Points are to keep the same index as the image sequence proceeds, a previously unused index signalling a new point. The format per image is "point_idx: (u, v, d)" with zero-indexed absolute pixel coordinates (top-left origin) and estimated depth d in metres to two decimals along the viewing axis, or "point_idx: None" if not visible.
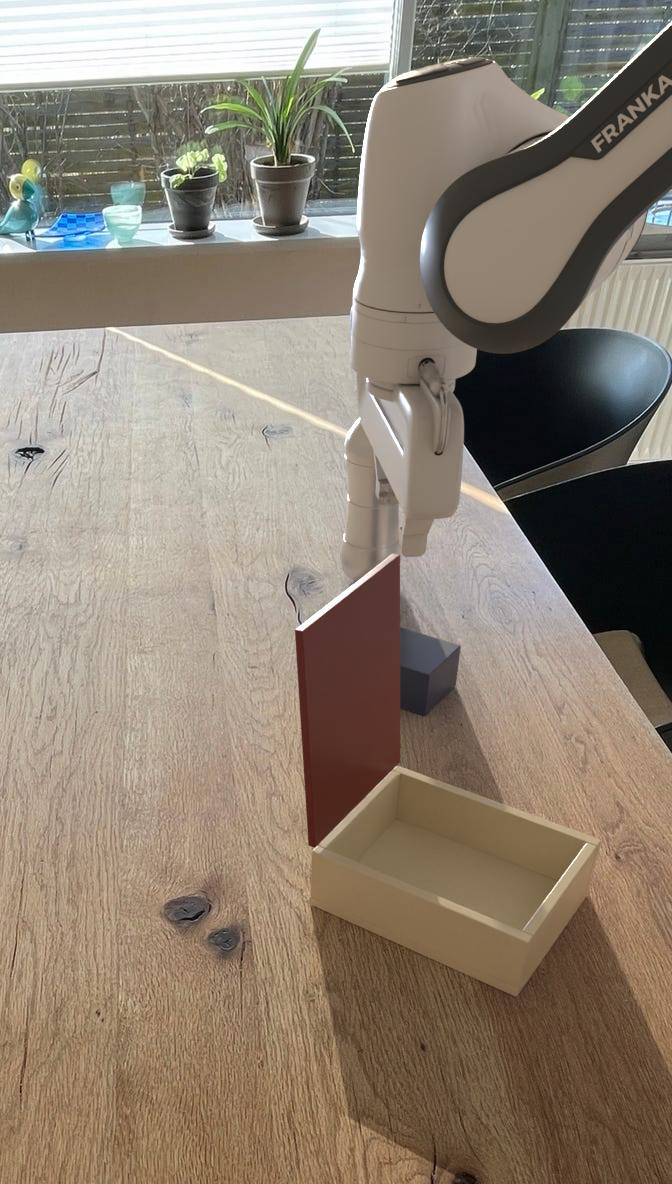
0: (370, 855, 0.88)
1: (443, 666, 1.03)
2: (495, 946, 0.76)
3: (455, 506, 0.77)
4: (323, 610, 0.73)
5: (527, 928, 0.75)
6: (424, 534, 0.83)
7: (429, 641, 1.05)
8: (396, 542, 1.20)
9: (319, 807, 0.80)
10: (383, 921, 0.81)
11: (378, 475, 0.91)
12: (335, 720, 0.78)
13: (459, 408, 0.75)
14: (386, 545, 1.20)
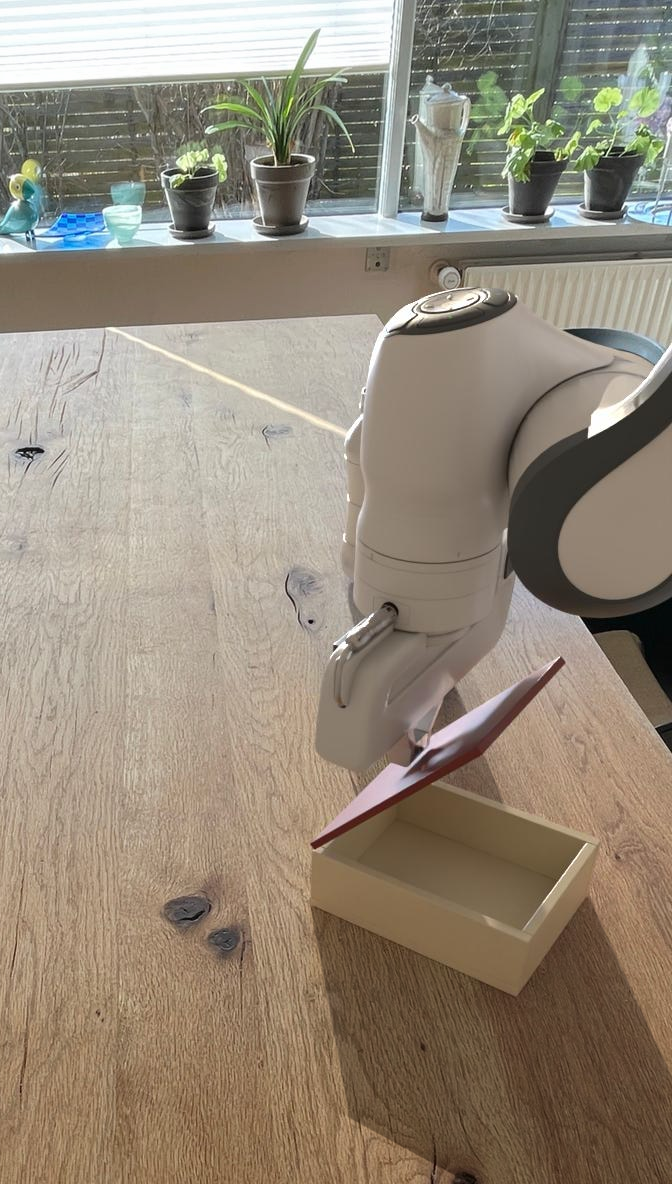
0: (370, 855, 0.88)
1: None
2: (495, 946, 0.76)
3: (357, 765, 0.70)
4: (500, 726, 0.70)
5: (527, 928, 0.75)
6: (408, 747, 0.78)
7: None
8: None
9: None
10: (383, 921, 0.81)
11: None
12: None
13: (375, 668, 0.67)
14: None
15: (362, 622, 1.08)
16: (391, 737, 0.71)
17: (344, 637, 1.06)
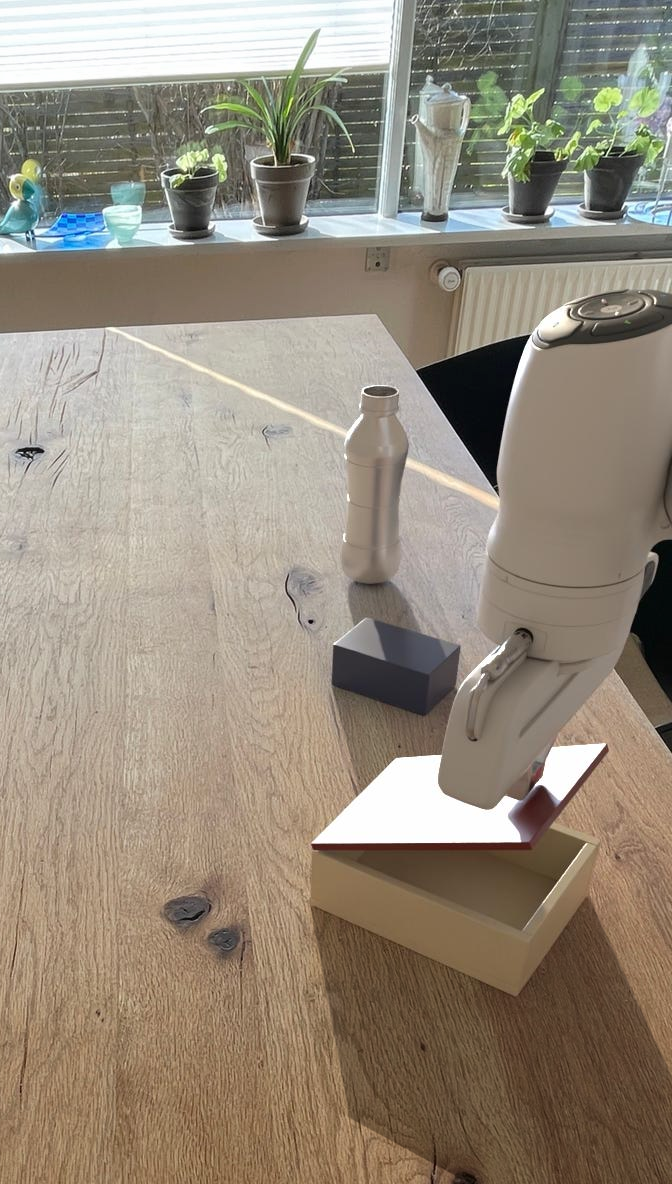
0: (370, 855, 0.88)
1: (443, 666, 1.03)
2: (495, 946, 0.76)
3: (485, 802, 0.65)
4: (550, 820, 0.71)
5: (527, 928, 0.75)
6: (524, 780, 0.73)
7: (429, 641, 1.05)
8: (396, 542, 1.20)
9: None
10: (383, 921, 0.81)
11: None
12: None
13: (512, 699, 0.62)
14: (386, 545, 1.20)
15: (362, 622, 1.08)
16: (518, 772, 0.67)
17: (344, 637, 1.06)
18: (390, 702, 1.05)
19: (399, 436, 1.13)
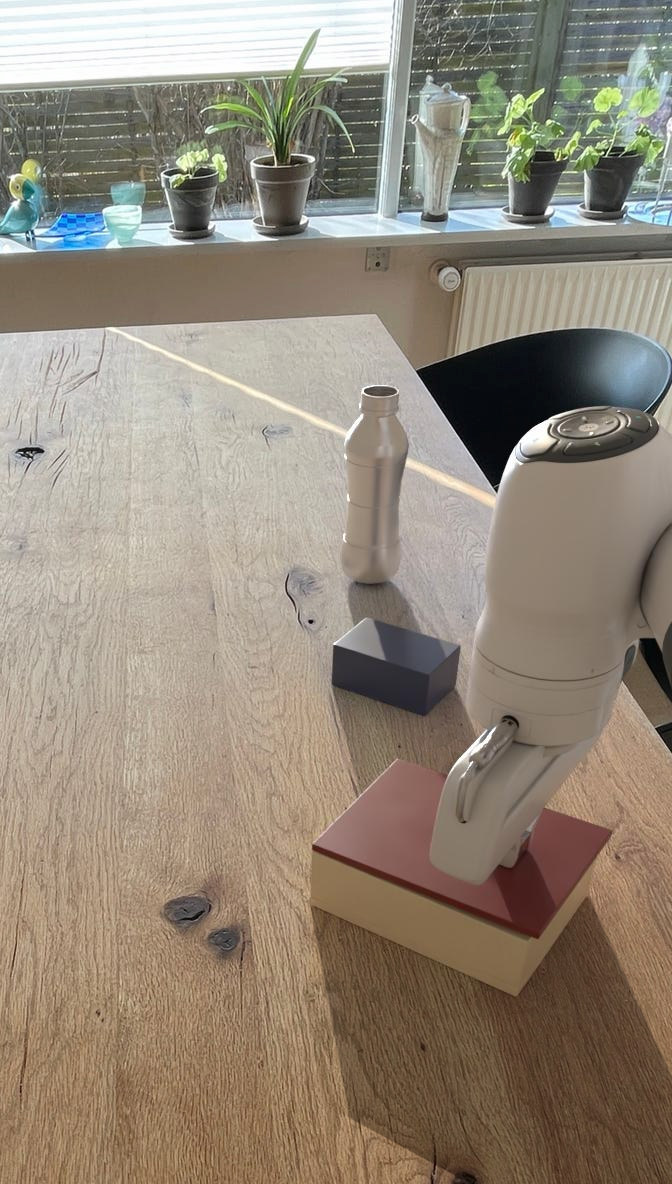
0: None
1: (443, 666, 1.03)
2: (495, 946, 0.76)
3: (474, 878, 0.69)
4: (557, 909, 0.75)
5: None
6: (513, 849, 0.77)
7: (429, 641, 1.05)
8: (396, 542, 1.20)
9: None
10: (383, 921, 0.81)
11: None
12: None
13: (499, 785, 0.66)
14: (386, 545, 1.20)
15: (362, 622, 1.08)
16: (505, 848, 0.70)
17: (344, 637, 1.06)
18: (390, 702, 1.05)
19: (399, 436, 1.13)
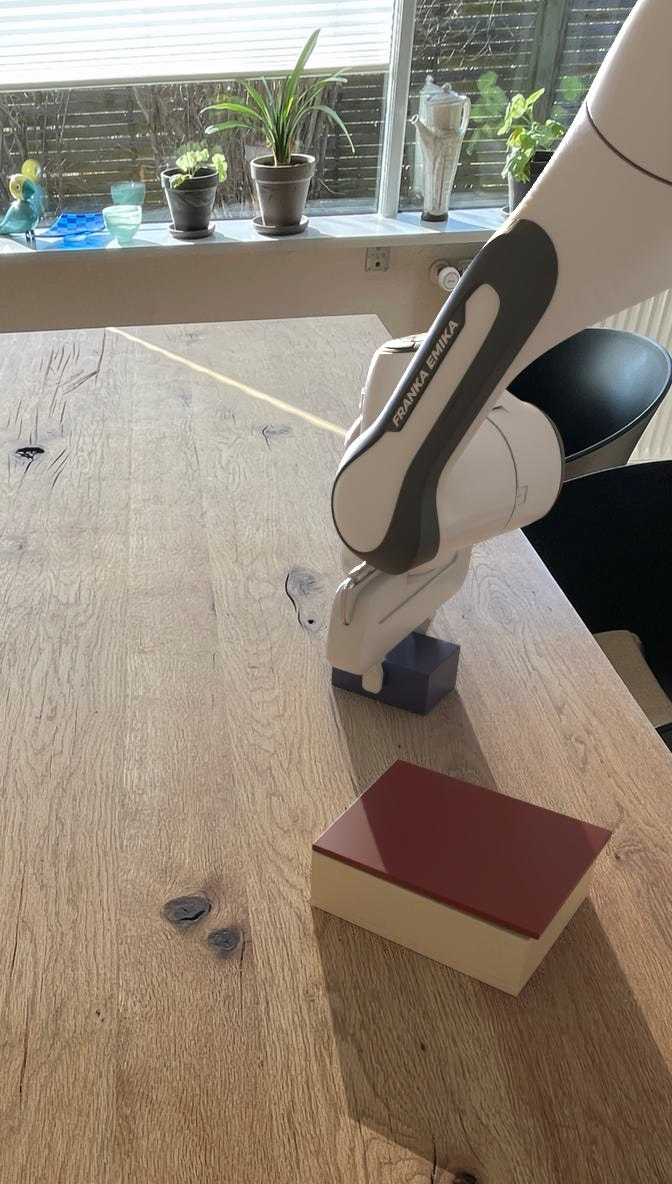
0: None
1: (443, 666, 1.03)
2: (495, 946, 0.76)
3: (357, 668, 0.96)
4: (557, 910, 0.75)
5: None
6: (377, 677, 1.03)
7: (429, 641, 1.05)
8: None
9: None
10: (383, 921, 0.81)
11: None
12: None
13: (370, 595, 0.93)
14: None
15: None
16: (381, 649, 0.98)
17: None
18: (390, 702, 1.05)
19: None
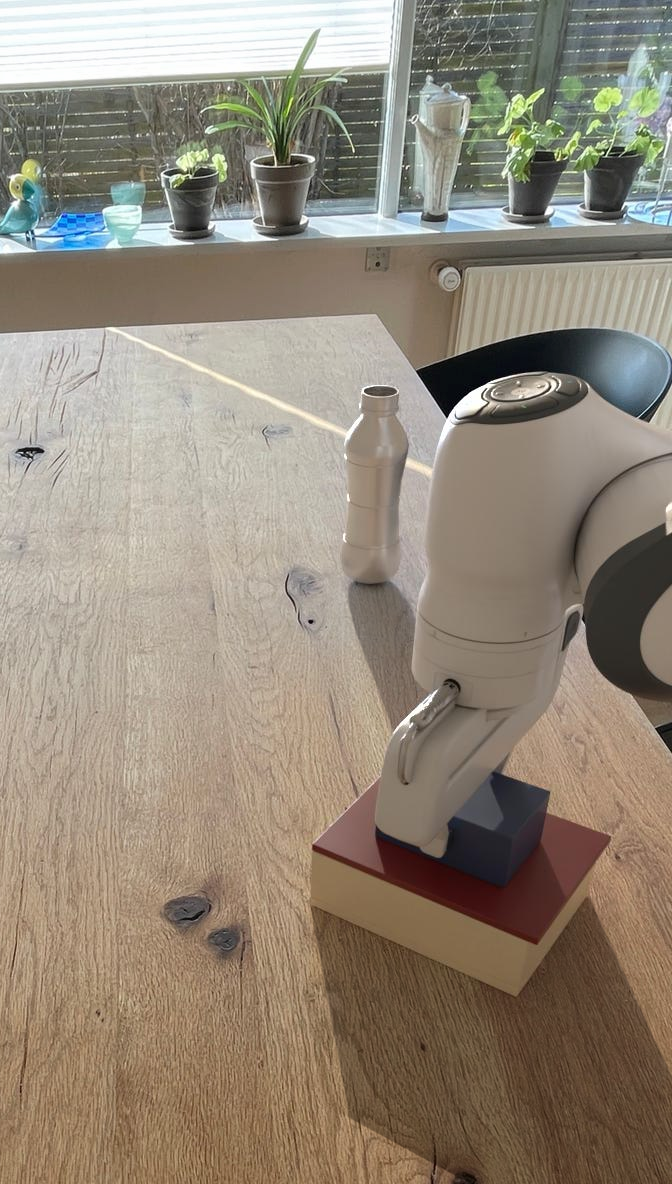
0: None
1: (529, 823, 0.76)
2: (495, 946, 0.76)
3: (418, 840, 0.70)
4: (556, 915, 0.75)
5: None
6: (441, 839, 0.76)
7: (507, 784, 0.79)
8: (396, 542, 1.20)
9: None
10: (383, 921, 0.81)
11: None
12: None
13: (439, 747, 0.67)
14: (386, 545, 1.20)
15: None
16: (450, 811, 0.72)
17: None
18: (455, 866, 0.78)
19: (399, 436, 1.13)
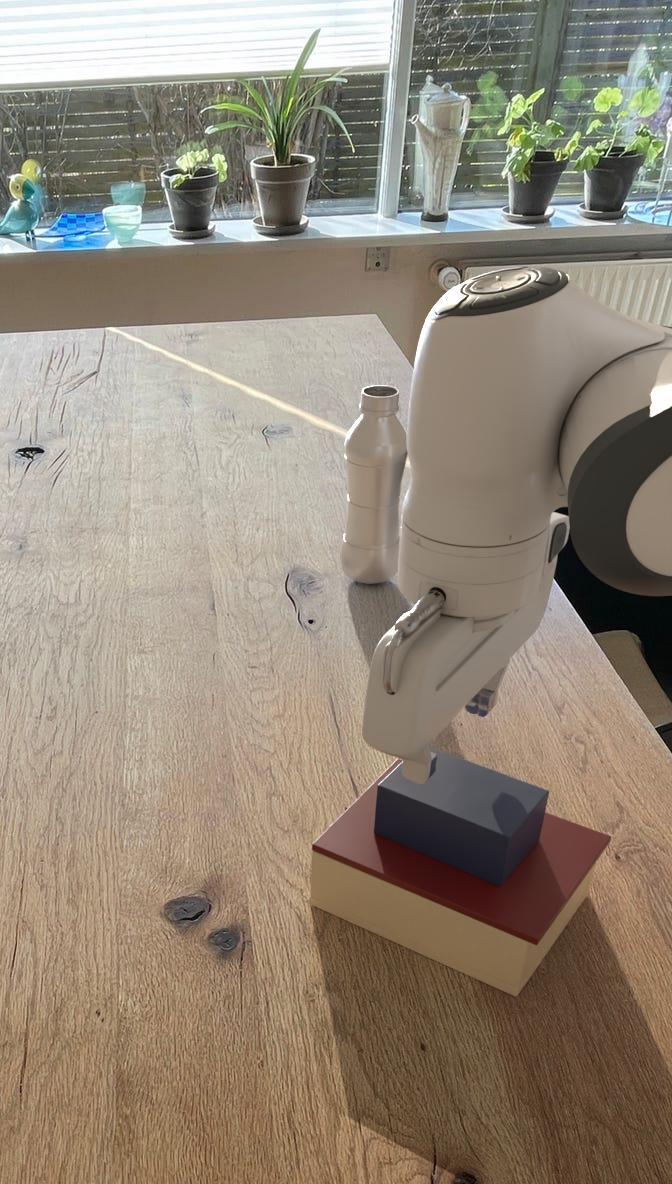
0: None
1: (527, 822, 0.76)
2: (495, 946, 0.76)
3: (406, 752, 0.69)
4: (556, 915, 0.75)
5: None
6: (423, 764, 0.75)
7: (506, 783, 0.79)
8: (396, 542, 1.20)
9: None
10: (383, 921, 0.81)
11: None
12: None
13: (425, 654, 0.66)
14: (386, 545, 1.20)
15: None
16: (438, 724, 0.71)
17: (392, 774, 0.80)
18: (453, 864, 0.79)
19: (399, 436, 1.13)
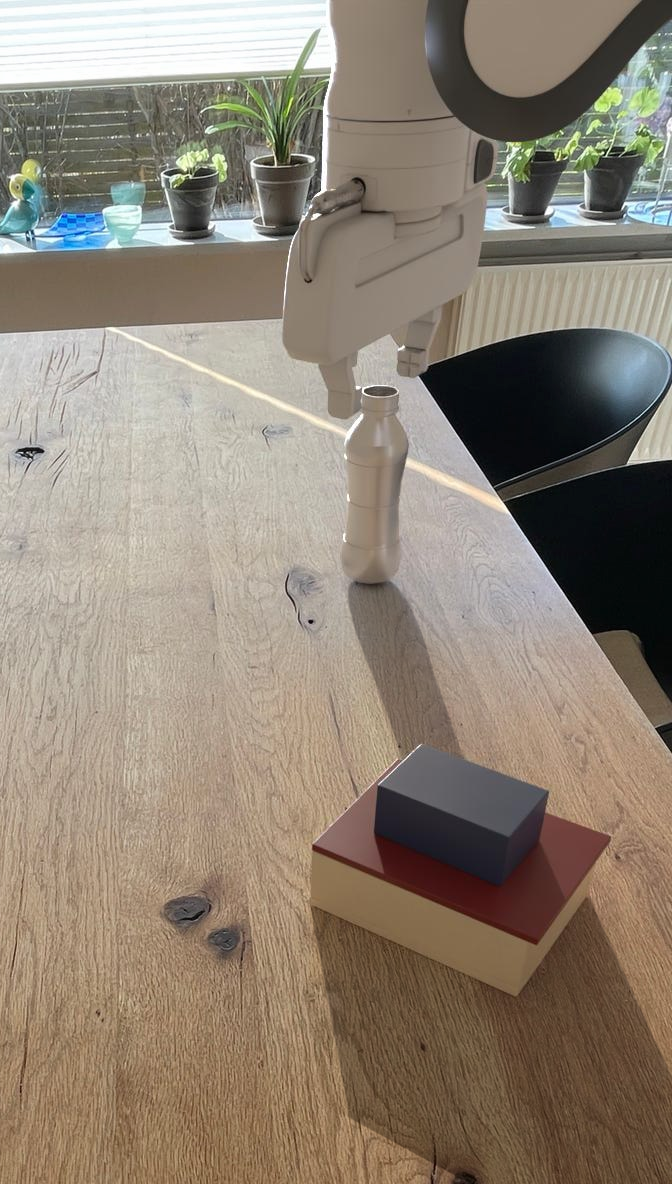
0: None
1: (527, 822, 0.76)
2: (495, 946, 0.76)
3: (324, 349, 0.69)
4: (556, 915, 0.75)
5: None
6: (347, 393, 0.74)
7: (506, 783, 0.79)
8: (396, 542, 1.20)
9: None
10: (383, 921, 0.81)
11: (405, 341, 0.81)
12: None
13: (341, 233, 0.66)
14: (386, 545, 1.20)
15: (416, 751, 0.82)
16: (359, 332, 0.71)
17: (392, 774, 0.80)
18: (453, 864, 0.79)
19: (399, 436, 1.13)
